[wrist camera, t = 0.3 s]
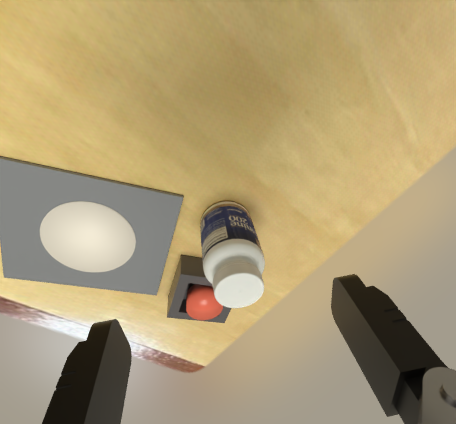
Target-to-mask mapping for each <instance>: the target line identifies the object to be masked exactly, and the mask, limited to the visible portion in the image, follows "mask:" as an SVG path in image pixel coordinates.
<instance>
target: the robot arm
mask: <svg viewBox="0 0 456 424" xmlns="http://www.w3.org/2000/svg"><path fill="white" fill-rule="evenodd" d="M332 289H333V290H332V303H331V309H332V314H333V317H334V320H335V322H336V324H337V326H338V328H339V330H340V332H341V333H342V335H343V337H344V339H345V341H346V342H347V344H348V346H349V348H350V350H351V352H352V353H353V355H354V357H355V359H356V361H357V363H358V364H359V366H360V368H361V370H362V372H363V374H364V375H365V377H366V379H367V381H368V383H369V384H370V386H371V388H372V390H373V392H374V394H375V395H376V397H377V399H378V401H379V403H380V404H381V406H382V408H383V410H384V412H385V414H386V415H387V417H388V416H393V415H397V414H399V415H400V416H401V418H402V420H403V422H404V424H456V371H455V370H453V369H450V368H448V367H447V366H446V365H445V364H444V363H443V362H442V361H441V360H440V358H439V357H438V356H437V355H436V354H435V352H434V351H433V350H432V349H431V347H430V346H429V345H428V344H427V343H426V341H425V340H424V339H423V338H422V337H421V335H420V334H419V333H418V332H417V331H416V329H415V328H414V327H413V326H412V324H411V323H410V322H409V321H407V320H406V317H405V316H404V315H403V313H402V312H401V311H400V310H398V307H397V306H396V305H395V304H394V302H393V301H392V300H391V299H390V298H389V296H388V295H386V294H385V293H383V292H382V291H380V290H379V289H377V288H376V287H374V286H370V287H366V286H365V285H364V284H363V282H362V281H361V280H360V278H359V277H358V276H357V275H355V274H352V275H347V276H343V277H337V278H334V280H333V288H332ZM130 366H131V348H130V345H129V342H128V340H127V338H126V336H125V334H124V332H123V330H122V328H121V326H120V324H119V322H118V321H117V320H116V319H114V320H109V321H104V322H98V323H94V324H93V325H92V326H91V329H90V332H89V334H88V337H87V340H86V341H83V342H79V343H78V344H77V346H76V347H75V348H74V349H73V351H72V352H71V353H70V355H69V356H68V357H67V360H66V363H65V365H64V368H63V371H62V373H61V374H62V376H61V377H60V378H59V381H58V383H57V386H56V391H54V394H53V396H52V399H51V401H50V404H49V407H48V409H47V412H46V414H45V417H44V420H43V422H42V424H120V423H121V417H122V412H123V406H124V400H125V395H126V389H127V383H128V377H129V372H130Z"/></svg>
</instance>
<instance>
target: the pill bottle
mask: <svg viewBox="0 0 456 424" xmlns="http://www.w3.org/2000/svg"><path fill="white" fill-rule="evenodd" d="M200 228H201V244H202V258H203V270H204V274H205V276H206V278H207V280H208V281H209V282H210V283H211V284H212V286H213V290H214V295H215V298H216V300H217V301H218V302H219V303H220V304H221V305H223V306H225V307H229V308H242V307H246V306H249V305H251V304H253V303H255V302H256V301H257V300H258V299H259V298H260V297H261V296H262V294H263V291H264V283H263V279H262V273H263V270H264V266H265V260H264V255H263V252H262V249H261V246H260V243H259V241H258V237H257V234H256V232H255V229H254V226H253V223H252V220H251V217H250V215H249V213H248V211H247V210H246V209H245V208H244V207H243V206H241V205H240V204H237V203H235V202H220V203H217V204H214V205H212V206H211V207H209V208H208V209H207V210H206V211H205V213H204V214H203V216H202V218H201V226H200Z"/></svg>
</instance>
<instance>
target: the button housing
mask: <svg viewBox="0 0 456 424" xmlns="http://www.w3.org/2000/svg"><path fill="white" fill-rule="evenodd" d="M195 284H200V285H208V286H212V284H211V283H210V282H209V281H208V280H207V278H206V276H205V274H204V270H203V258H197V257H191V256H185V255H181V257H180V260H179V263H178V267H177V270H176V273H175V276H174V280H173V283H172V286H171V289H170V293H169V296H168V308H167V317H168V318H178V319H188V320H196V319H194V318H192V317H190V316H189V315H188V313H187V310H186V294H187V291H188V289H189V288H190V287H191V286H193V285H195ZM230 310H231V308H229V307H225V306H223V309H222V312H221V313H220V314H219V315H218V316H216V317H215V318H212V319H209V320H199V321H209V322H219V323H225V321H226V318H227V316H228V314H229V312H230Z"/></svg>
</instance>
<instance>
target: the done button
mask: <svg viewBox="0 0 456 424" xmlns="http://www.w3.org/2000/svg"><path fill="white" fill-rule="evenodd" d="M222 309H223V305H221V304H220V303H219V302H218V301H217V300H216V298H215V295H214V290H213V286H208V285H200V284H195V285H193V286H191V287H190V288H189V289H188V291H187V294H186V310H187V313H188V315H189V316H190V317H192V318H194V319H196V320H209V319H212V318H215V317H216V316H218V315H219V314H220V313H221V312H222Z"/></svg>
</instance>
